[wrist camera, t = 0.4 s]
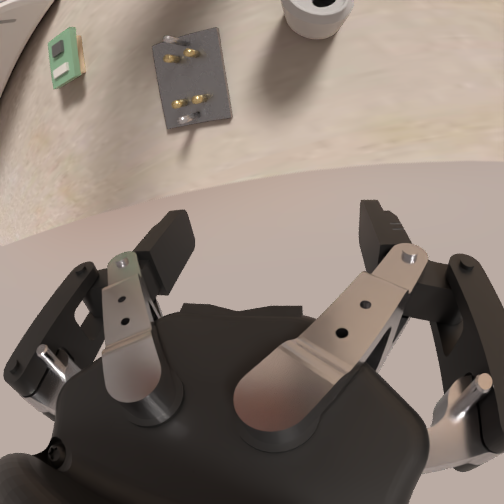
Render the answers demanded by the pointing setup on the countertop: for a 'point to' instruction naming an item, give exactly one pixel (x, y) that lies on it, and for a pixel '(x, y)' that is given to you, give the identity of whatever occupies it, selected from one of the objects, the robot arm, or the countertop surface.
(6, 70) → the toaster
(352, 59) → the countertop surface
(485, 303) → the robot arm
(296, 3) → the can
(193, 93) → the chassis
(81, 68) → the beige wooden block
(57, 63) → the board
